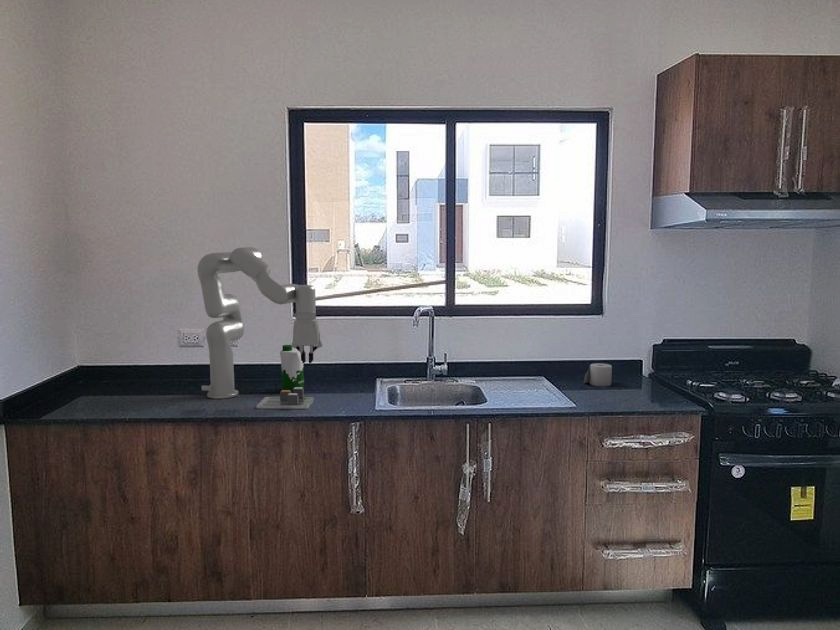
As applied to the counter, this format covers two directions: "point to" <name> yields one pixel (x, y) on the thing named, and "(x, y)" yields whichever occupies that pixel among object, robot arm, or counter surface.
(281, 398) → the block
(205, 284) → the robot arm
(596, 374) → the toilet tissue
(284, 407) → the panel
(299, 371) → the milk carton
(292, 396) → the breaker front
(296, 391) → the breaker back
